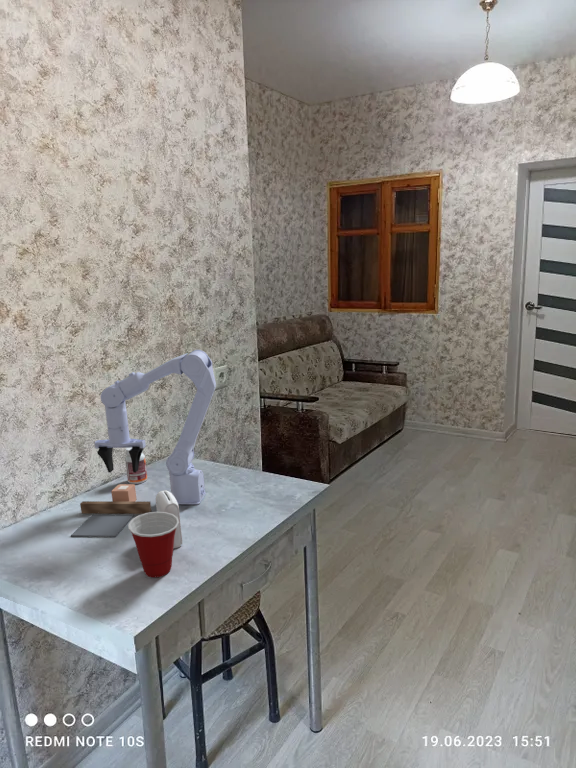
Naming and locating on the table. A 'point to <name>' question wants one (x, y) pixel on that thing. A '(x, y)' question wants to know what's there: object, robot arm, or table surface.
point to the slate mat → (103, 525)
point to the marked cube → (124, 492)
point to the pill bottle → (140, 474)
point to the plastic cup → (154, 541)
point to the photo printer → (170, 505)
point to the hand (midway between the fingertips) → (123, 471)
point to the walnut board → (115, 507)
